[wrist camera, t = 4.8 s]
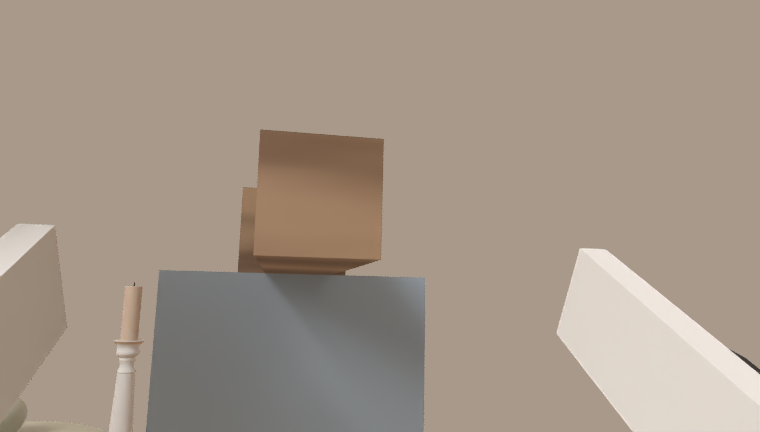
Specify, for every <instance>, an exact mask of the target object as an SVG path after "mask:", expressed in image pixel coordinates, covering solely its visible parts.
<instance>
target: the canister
mask: <svg viewBox="0 0 760 432" xmlns="http://www.w3.org/2000/svg"><path fill="white" fill-rule="evenodd" d="M26 416H27V406H26V404H25V402H24V401H23V400H22V399H20V398H18V399H17V401H16V402H15V403H14V405H13V406H12V408H11V409H10V411H9V412H8V414H7V415H6V416H5V418H4V419H3V421H2V422H1V424H0V432H106V431H104V430H102V429H100V428H97V427H93V426H90V425H85V424H79V423H71V422H52V421H51V422H50V421H31V422H24V421H25V419H26Z"/></svg>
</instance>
